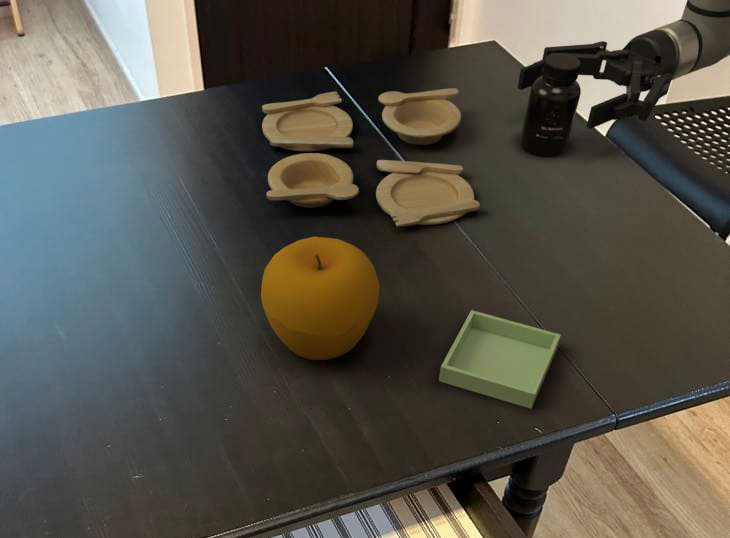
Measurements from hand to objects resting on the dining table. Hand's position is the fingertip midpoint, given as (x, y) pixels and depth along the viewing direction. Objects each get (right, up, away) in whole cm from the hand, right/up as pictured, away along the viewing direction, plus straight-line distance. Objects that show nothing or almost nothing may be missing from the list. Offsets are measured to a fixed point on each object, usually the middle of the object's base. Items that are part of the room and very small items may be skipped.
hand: (554, 98), depth 115 cm
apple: (-33, -39, -20) cm, 54 cm away
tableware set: (-26, -8, +3) cm, 28 cm away
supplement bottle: (0, -4, +6) cm, 7 cm away
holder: (-13, -42, -22) cm, 50 cm away
